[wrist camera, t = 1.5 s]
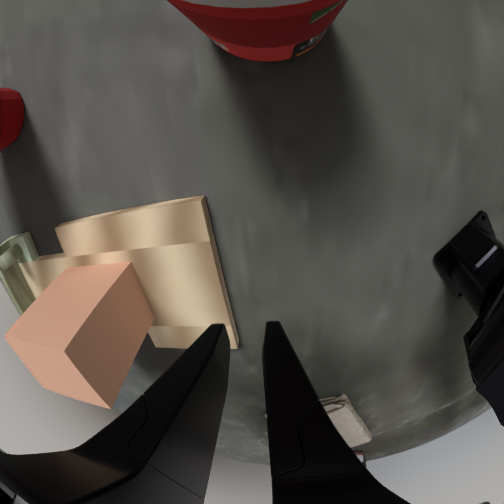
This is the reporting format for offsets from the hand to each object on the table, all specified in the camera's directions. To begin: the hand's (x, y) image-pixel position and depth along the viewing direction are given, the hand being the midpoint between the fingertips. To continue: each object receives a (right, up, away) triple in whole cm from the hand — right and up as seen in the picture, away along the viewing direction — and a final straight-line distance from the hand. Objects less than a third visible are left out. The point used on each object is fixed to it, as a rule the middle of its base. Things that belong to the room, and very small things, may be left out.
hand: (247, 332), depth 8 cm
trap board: (-14, -1, +16) cm, 21 cm away
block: (-13, -1, +14) cm, 19 cm away
